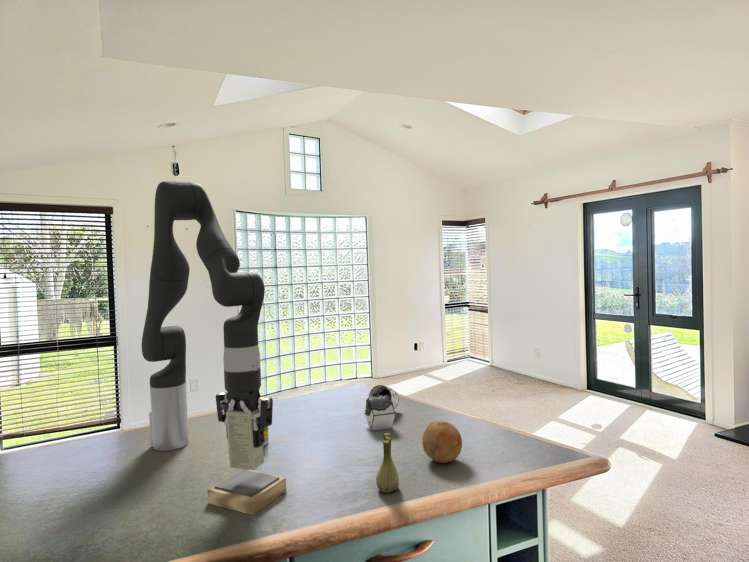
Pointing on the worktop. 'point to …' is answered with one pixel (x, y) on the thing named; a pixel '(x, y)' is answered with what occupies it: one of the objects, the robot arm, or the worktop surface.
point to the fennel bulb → (387, 469)
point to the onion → (442, 441)
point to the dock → (246, 491)
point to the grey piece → (381, 407)
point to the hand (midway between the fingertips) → (245, 443)
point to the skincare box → (242, 441)
